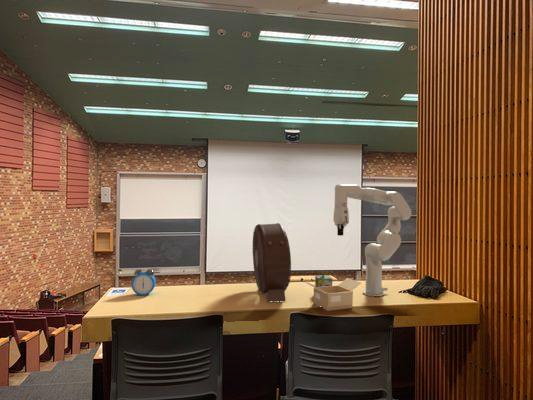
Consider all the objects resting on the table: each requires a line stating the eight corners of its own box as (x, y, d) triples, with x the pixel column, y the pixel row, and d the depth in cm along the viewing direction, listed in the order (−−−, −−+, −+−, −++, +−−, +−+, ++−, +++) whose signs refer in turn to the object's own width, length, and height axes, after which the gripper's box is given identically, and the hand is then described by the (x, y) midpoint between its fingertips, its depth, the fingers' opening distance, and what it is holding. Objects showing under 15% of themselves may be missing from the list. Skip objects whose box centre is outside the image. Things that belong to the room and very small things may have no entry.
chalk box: (332, 298, 208) (333, 273, 208) (317, 298, 207) (317, 273, 208) (329, 294, 217) (329, 270, 217) (314, 293, 217) (315, 270, 217)
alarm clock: (130, 296, 204) (131, 270, 204) (133, 293, 210) (133, 268, 210) (154, 295, 206) (154, 270, 206) (155, 292, 212) (156, 268, 212)
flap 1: (304, 281, 193) (304, 281, 193) (316, 286, 181) (316, 287, 181) (314, 286, 195) (314, 287, 195) (326, 292, 183) (326, 292, 183)
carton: (337, 300, 202) (337, 285, 202) (353, 308, 189) (353, 291, 189) (313, 303, 196) (313, 287, 196) (327, 311, 182) (327, 294, 182)
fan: (292, 304, 194) (294, 225, 194) (261, 305, 191) (262, 225, 191) (276, 286, 235) (277, 221, 235) (250, 286, 231) (251, 221, 231)
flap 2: (338, 284, 201) (338, 285, 201) (352, 289, 190) (352, 290, 190) (347, 277, 204) (347, 278, 204) (361, 282, 192) (361, 283, 192)
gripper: (353, 205, 205) (353, 236, 205) (338, 204, 219) (338, 234, 219) (343, 205, 203) (342, 236, 202) (328, 204, 216) (328, 234, 216)
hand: (340, 235), depth 211 cm, fingers closed
